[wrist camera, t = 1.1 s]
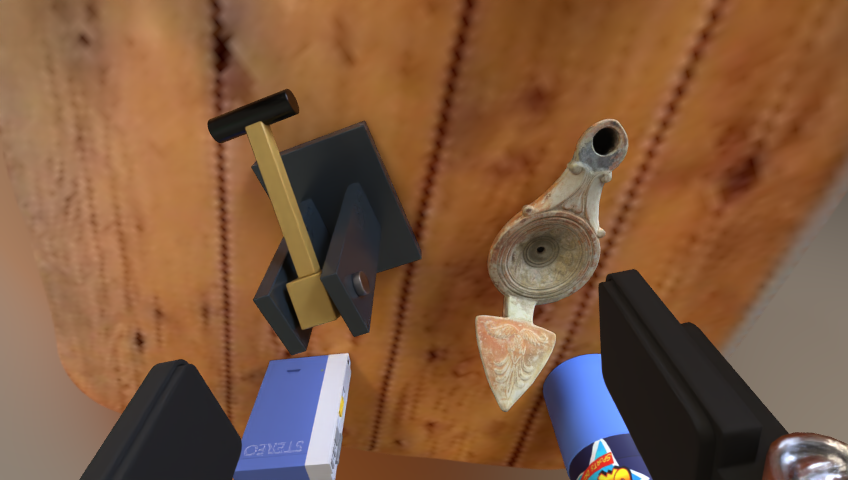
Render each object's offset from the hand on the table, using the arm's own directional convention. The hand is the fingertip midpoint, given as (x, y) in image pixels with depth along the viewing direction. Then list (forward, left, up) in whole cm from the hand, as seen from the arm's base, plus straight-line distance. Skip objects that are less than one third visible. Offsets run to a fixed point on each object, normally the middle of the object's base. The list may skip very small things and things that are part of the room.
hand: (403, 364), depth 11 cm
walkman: (+28, -3, -26) cm, 38 cm away
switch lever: (+7, -5, -17) cm, 19 cm away
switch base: (+10, -3, -26) cm, 28 cm away
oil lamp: (+8, +13, -26) cm, 30 cm away
